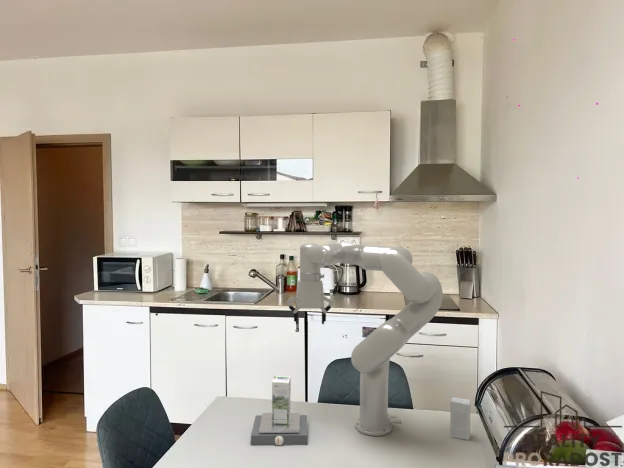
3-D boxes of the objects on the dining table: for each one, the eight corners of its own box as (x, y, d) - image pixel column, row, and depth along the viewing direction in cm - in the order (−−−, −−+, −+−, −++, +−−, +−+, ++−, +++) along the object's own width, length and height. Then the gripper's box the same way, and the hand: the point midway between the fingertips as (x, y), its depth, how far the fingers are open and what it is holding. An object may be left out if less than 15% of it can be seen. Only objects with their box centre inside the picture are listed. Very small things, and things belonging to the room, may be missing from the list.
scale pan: (299, 415, 152) (299, 412, 152) (299, 432, 140) (299, 429, 140) (262, 415, 152) (262, 412, 152) (259, 433, 140) (259, 429, 140)
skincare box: (470, 434, 146) (471, 399, 145) (469, 440, 142) (469, 404, 141) (451, 430, 148) (452, 396, 148) (449, 436, 144) (450, 401, 144)
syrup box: (290, 417, 149) (290, 375, 148) (288, 425, 143) (289, 381, 142) (274, 416, 149) (274, 374, 148) (271, 424, 143) (271, 381, 142)
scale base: (307, 423, 153) (307, 415, 153) (307, 445, 138) (307, 436, 138) (255, 423, 153) (255, 415, 153) (250, 446, 138) (250, 436, 138)
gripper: (332, 276, 164) (332, 321, 164) (286, 275, 163) (286, 321, 164) (334, 278, 156) (333, 326, 157) (286, 278, 156) (286, 326, 157)
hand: (309, 323), depth 160 cm, fingers open, 9 cm apart
